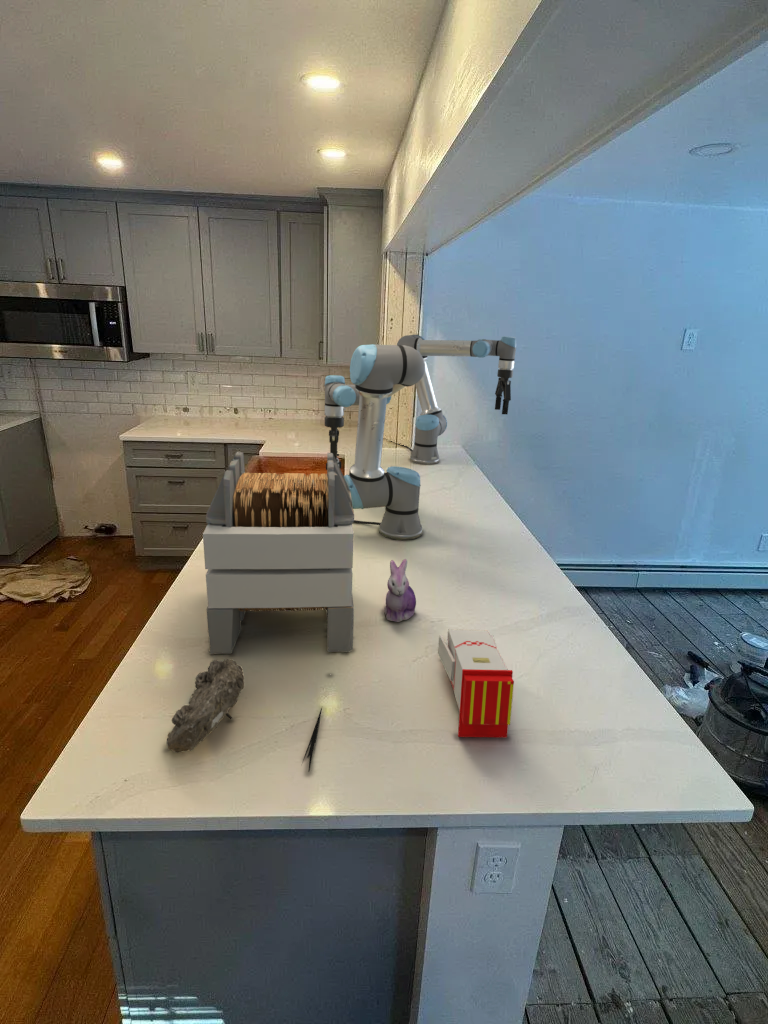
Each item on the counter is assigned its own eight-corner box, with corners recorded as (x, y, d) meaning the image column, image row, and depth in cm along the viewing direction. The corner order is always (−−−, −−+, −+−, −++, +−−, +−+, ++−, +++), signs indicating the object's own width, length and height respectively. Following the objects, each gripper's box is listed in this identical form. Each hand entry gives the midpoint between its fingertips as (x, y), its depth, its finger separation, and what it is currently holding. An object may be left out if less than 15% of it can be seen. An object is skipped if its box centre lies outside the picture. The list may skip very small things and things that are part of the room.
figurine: (392, 627, 141) (395, 572, 136) (374, 608, 149) (376, 556, 144) (425, 619, 145) (429, 566, 140) (405, 601, 154) (408, 550, 149)
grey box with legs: (229, 585, 158) (221, 442, 144) (346, 584, 161) (350, 444, 148) (206, 656, 126) (193, 481, 112) (353, 652, 130) (358, 483, 116)
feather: (331, 679, 122) (336, 673, 122) (307, 777, 96) (313, 769, 95) (324, 675, 122) (329, 669, 121) (298, 772, 95) (304, 764, 95)
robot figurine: (325, 476, 226) (325, 458, 224) (326, 473, 231) (326, 455, 228) (340, 477, 227) (341, 458, 224) (341, 473, 231) (341, 455, 228)
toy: (488, 613, 130) (523, 677, 101) (484, 667, 133) (517, 744, 104) (435, 612, 130) (455, 676, 101) (432, 666, 133) (451, 743, 103)
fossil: (192, 660, 117) (244, 628, 112) (224, 691, 120) (276, 661, 115) (142, 746, 98) (202, 712, 93) (182, 779, 101) (242, 748, 96)
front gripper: (343, 420, 212) (342, 480, 220) (344, 412, 229) (343, 468, 237) (323, 420, 212) (322, 479, 220) (325, 411, 229) (325, 467, 237)
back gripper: (520, 372, 270) (515, 416, 277) (506, 366, 294) (501, 407, 301) (505, 371, 270) (500, 416, 277) (492, 366, 293) (487, 407, 300)
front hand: (333, 473), depth 228 cm, fingers closed on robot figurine, 5 cm apart
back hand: (500, 411), depth 289 cm, fingers open, 13 cm apart
